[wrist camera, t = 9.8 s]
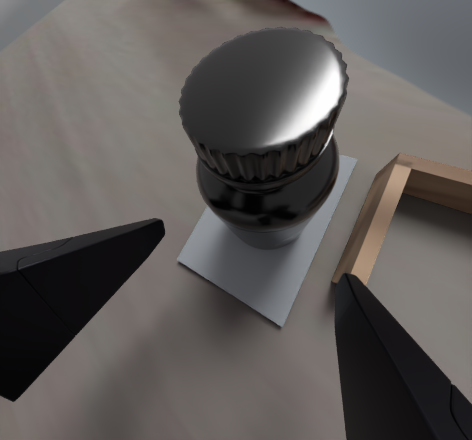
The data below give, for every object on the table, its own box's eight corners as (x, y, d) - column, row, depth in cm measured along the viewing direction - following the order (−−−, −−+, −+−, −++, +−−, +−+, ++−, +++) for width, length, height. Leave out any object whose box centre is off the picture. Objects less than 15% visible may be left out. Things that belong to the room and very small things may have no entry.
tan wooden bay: (514, 373, 11) (602, 412, 8) (331, 281, 14) (346, 284, 11) (549, 225, 12) (634, 212, 9) (376, 173, 15) (399, 153, 13)
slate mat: (282, 325, 14) (282, 327, 13) (179, 259, 17) (176, 259, 17) (355, 162, 16) (357, 159, 16) (251, 132, 19) (251, 129, 19)
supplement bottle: (300, 258, 14) (399, 224, 3) (224, 242, 16) (110, 184, 5) (310, 184, 16) (401, -20, 5) (240, 177, 18) (180, 17, 6)
